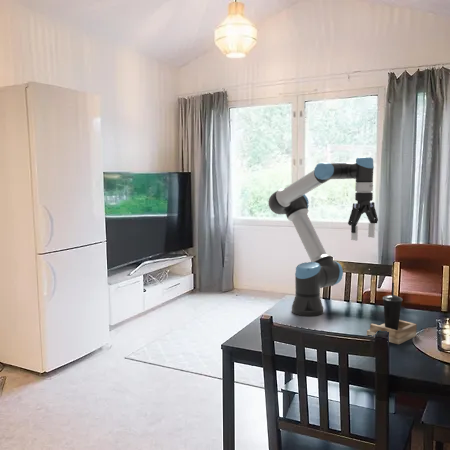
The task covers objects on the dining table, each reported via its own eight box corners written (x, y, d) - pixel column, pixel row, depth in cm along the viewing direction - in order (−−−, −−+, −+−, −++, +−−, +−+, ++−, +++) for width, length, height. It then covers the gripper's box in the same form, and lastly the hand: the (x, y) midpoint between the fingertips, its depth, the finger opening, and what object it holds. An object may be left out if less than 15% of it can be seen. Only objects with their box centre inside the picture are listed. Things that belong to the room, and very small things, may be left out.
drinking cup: (403, 334, 181) (404, 285, 179) (383, 333, 183) (384, 284, 181) (399, 328, 189) (401, 281, 186) (380, 327, 190) (381, 280, 188)
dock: (366, 335, 187) (367, 323, 186) (385, 327, 196) (385, 316, 195) (398, 344, 176) (398, 332, 175) (416, 336, 185) (416, 324, 184)
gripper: (355, 193, 193) (354, 242, 195) (386, 191, 209) (385, 236, 211) (340, 192, 199) (339, 240, 201) (372, 190, 215) (370, 235, 217)
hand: (363, 238), depth 206 cm, fingers open, 13 cm apart
